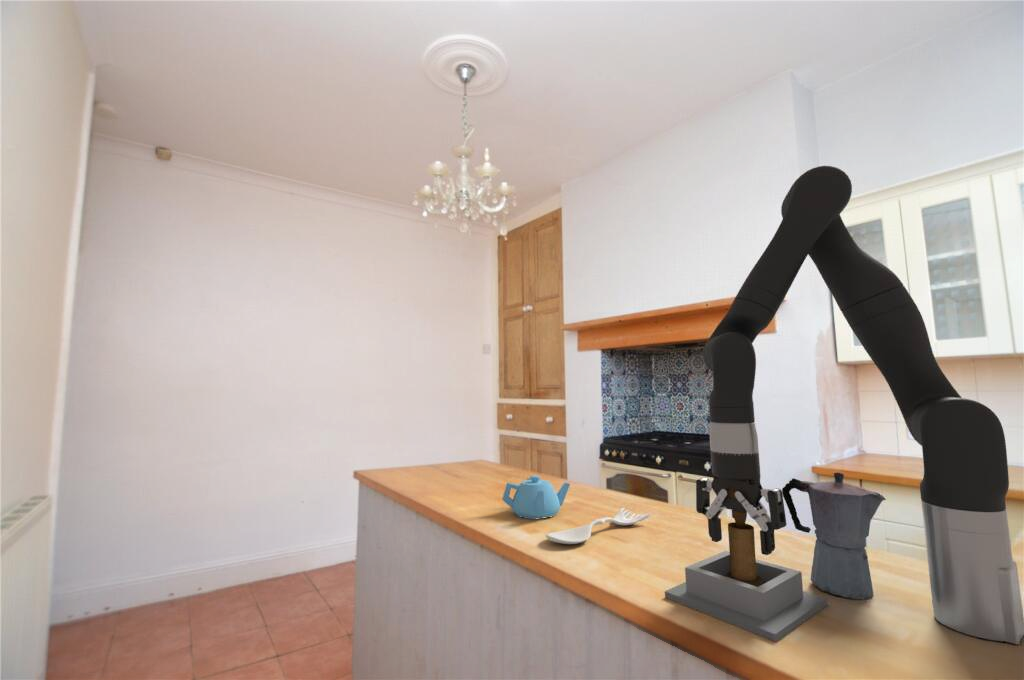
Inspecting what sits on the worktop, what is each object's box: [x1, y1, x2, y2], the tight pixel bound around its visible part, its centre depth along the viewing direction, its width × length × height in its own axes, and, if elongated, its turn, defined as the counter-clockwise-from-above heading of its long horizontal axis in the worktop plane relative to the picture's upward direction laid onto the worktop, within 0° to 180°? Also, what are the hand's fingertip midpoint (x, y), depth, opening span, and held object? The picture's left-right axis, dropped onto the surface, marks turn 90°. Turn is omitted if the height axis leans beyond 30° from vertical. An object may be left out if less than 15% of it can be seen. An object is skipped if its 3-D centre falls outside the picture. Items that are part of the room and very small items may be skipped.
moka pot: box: [781, 471, 887, 600], centre depth 82 cm, size 10×15×20 cm, turn 54°
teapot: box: [502, 474, 571, 518], centre depth 135 cm, size 15×15×11 cm
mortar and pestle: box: [724, 487, 765, 587], centre depth 78 cm, size 7×6×18 cm
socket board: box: [664, 550, 828, 642], centre depth 78 cm, size 18×18×5 cm
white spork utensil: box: [545, 507, 650, 545], centre depth 116 cm, size 9×32×4 cm, turn 129°
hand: (740, 547), depth 78 cm, fingers open, 8 cm apart
